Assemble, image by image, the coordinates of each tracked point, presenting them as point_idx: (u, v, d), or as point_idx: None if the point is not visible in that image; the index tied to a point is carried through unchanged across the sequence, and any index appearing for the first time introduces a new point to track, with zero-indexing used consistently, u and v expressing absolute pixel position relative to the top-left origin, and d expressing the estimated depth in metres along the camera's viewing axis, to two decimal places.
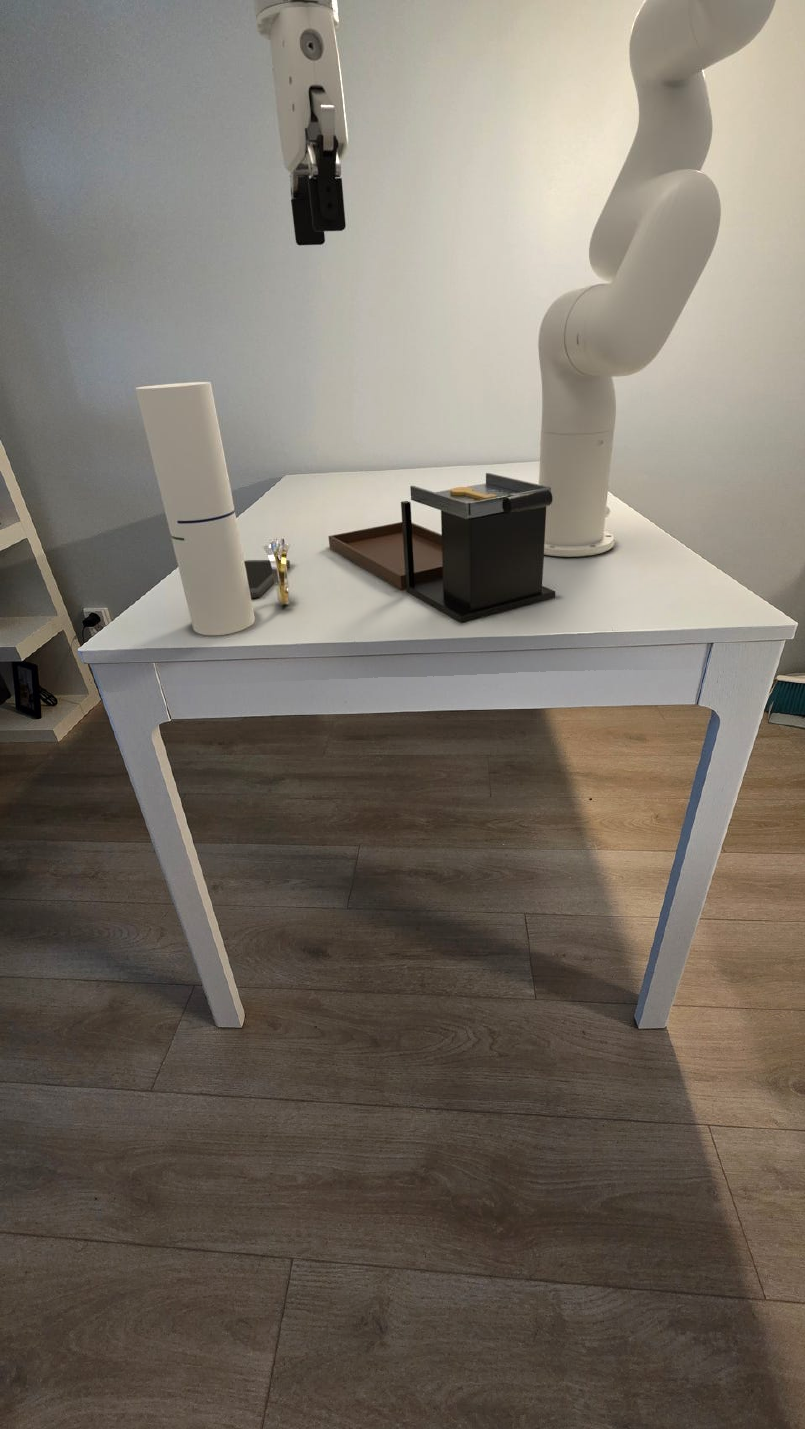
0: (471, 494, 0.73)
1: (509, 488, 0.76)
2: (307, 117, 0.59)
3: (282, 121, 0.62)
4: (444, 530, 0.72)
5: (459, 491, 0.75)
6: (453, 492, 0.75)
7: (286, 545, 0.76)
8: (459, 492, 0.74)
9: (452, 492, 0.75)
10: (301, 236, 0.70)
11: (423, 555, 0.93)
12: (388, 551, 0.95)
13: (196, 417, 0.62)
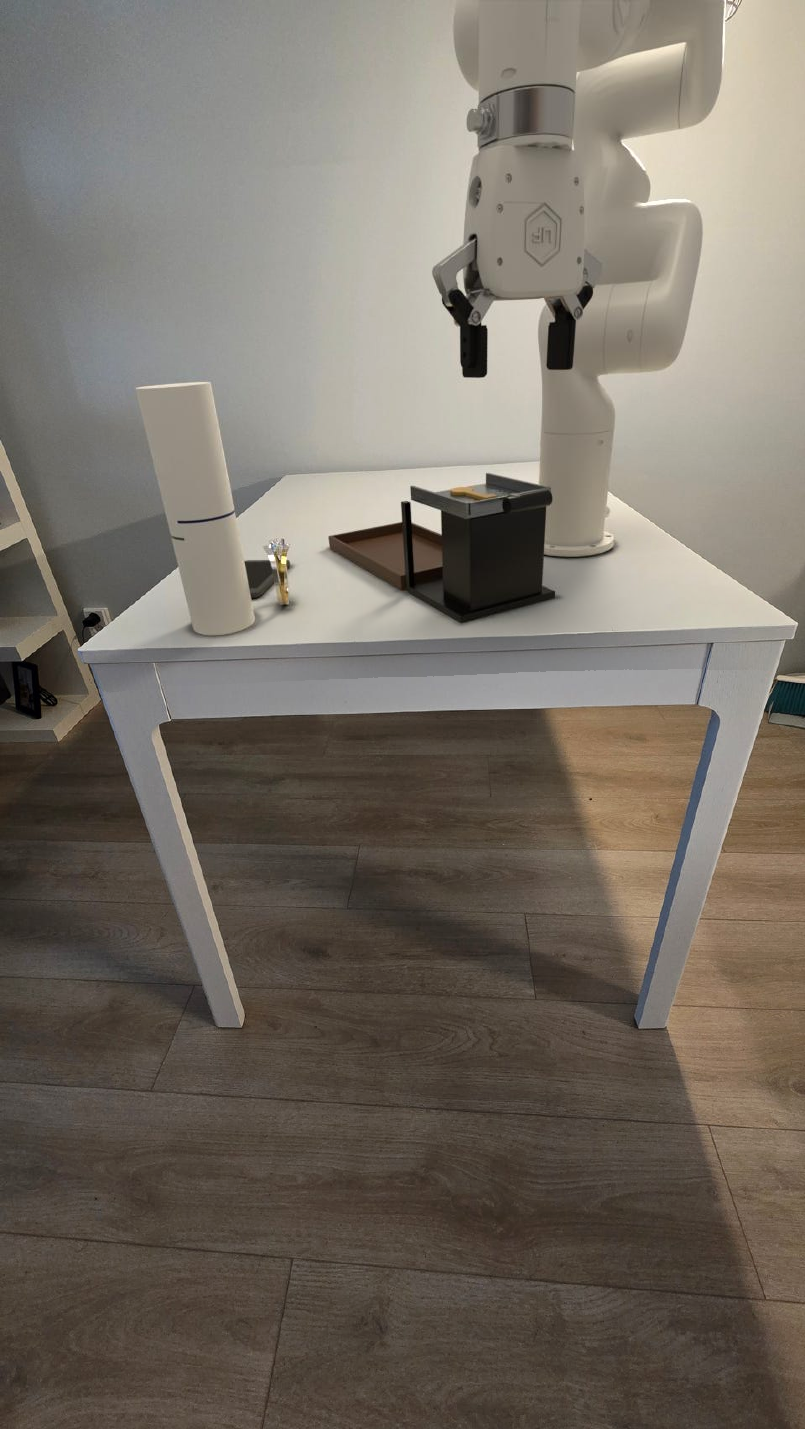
0: (471, 494, 0.73)
1: (509, 488, 0.76)
2: (465, 267, 0.55)
3: None
4: (444, 530, 0.72)
5: (459, 491, 0.75)
6: (453, 492, 0.75)
7: (286, 545, 0.76)
8: (459, 492, 0.74)
9: (452, 492, 0.75)
10: (549, 361, 0.62)
11: (423, 555, 0.93)
12: (388, 551, 0.95)
13: (196, 417, 0.62)
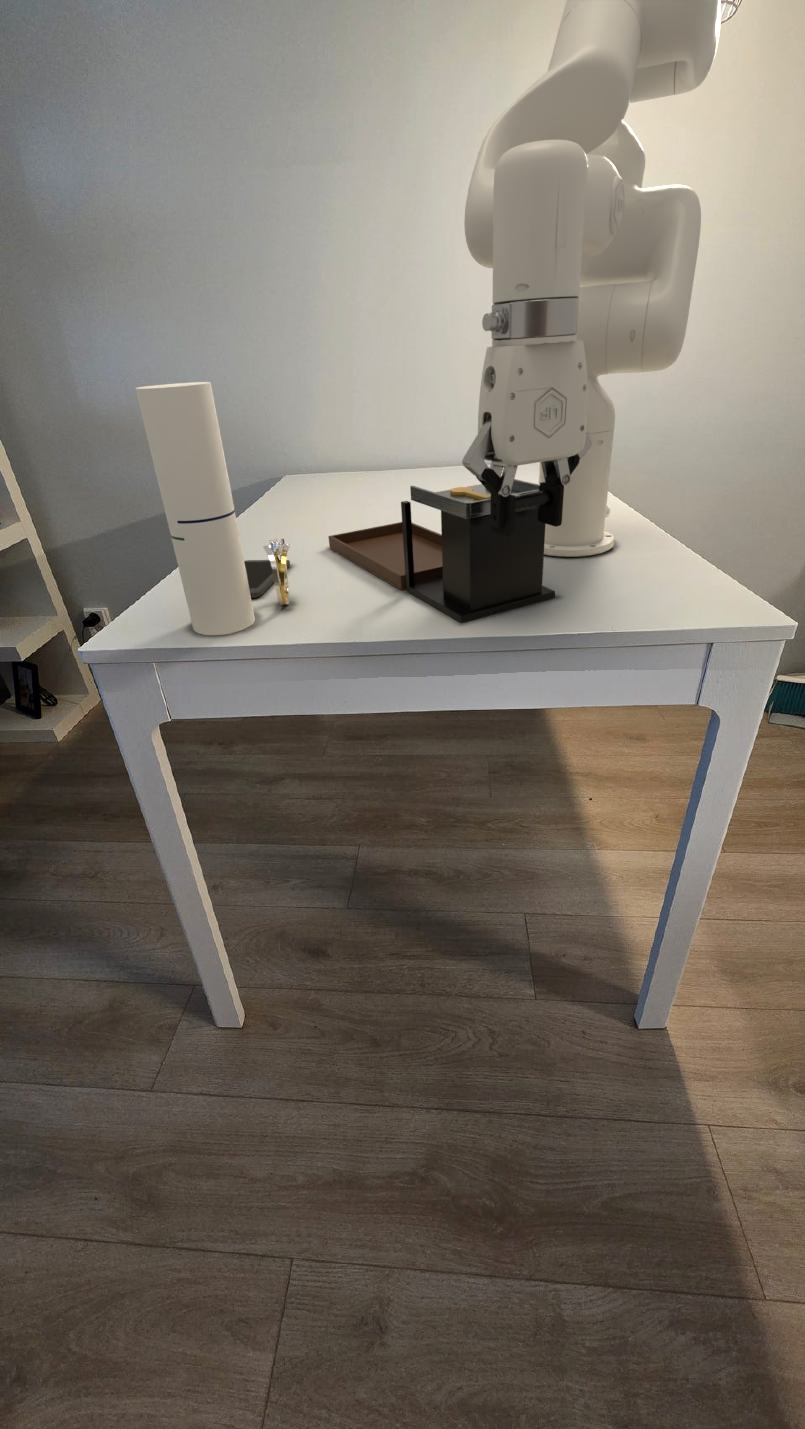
0: (471, 494, 0.73)
1: None
2: None
3: None
4: (444, 530, 0.72)
5: (459, 491, 0.75)
6: (453, 492, 0.75)
7: (286, 545, 0.76)
8: (459, 492, 0.74)
9: (452, 492, 0.75)
10: (540, 515, 0.68)
11: (423, 555, 0.93)
12: (388, 551, 0.95)
13: (196, 417, 0.62)
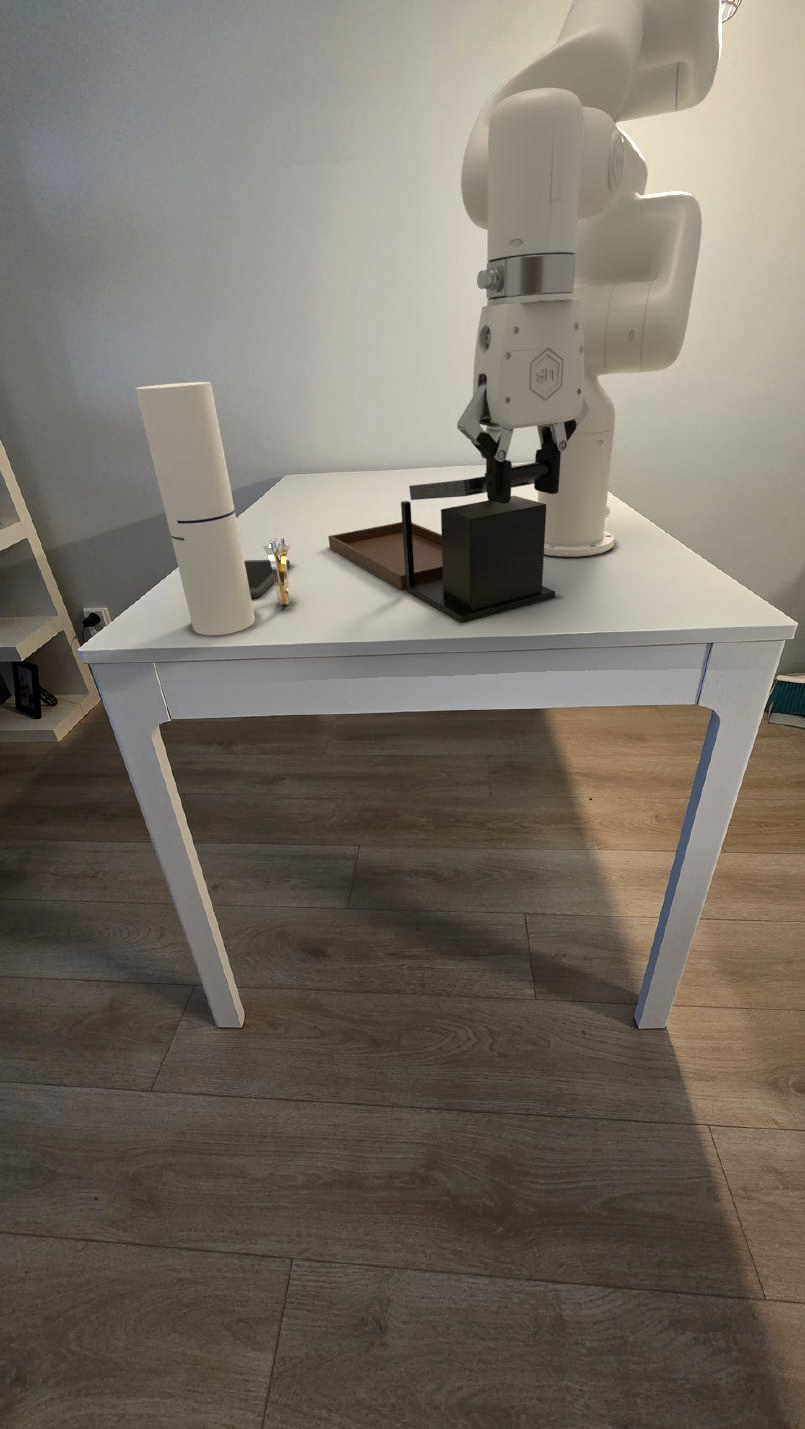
0: None
1: None
2: None
3: None
4: (444, 530, 0.72)
5: None
6: None
7: (286, 545, 0.76)
8: None
9: None
10: (537, 484, 0.67)
11: (423, 555, 0.93)
12: (388, 551, 0.95)
13: (196, 417, 0.62)
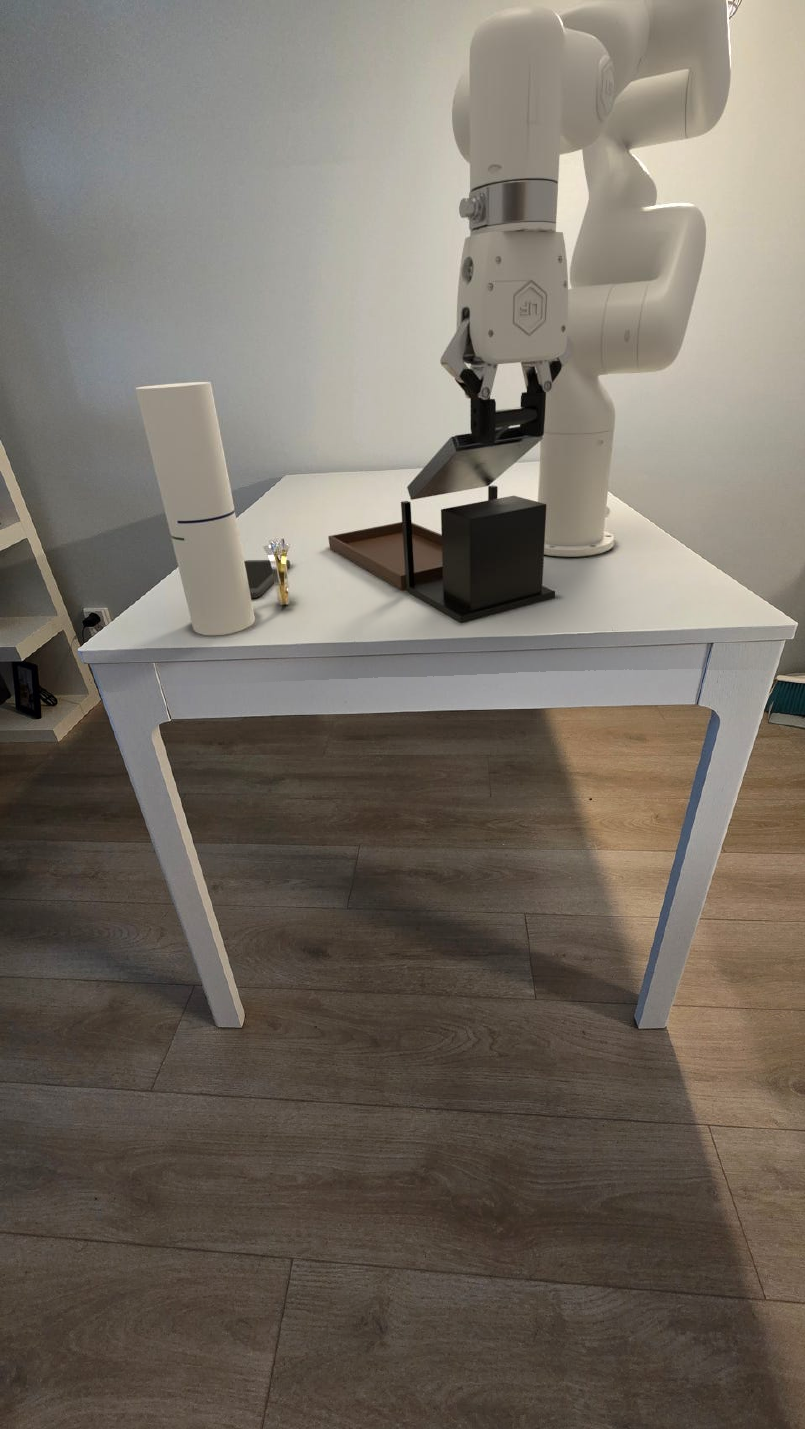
0: None
1: None
2: None
3: None
4: (444, 530, 0.72)
5: None
6: None
7: (286, 545, 0.76)
8: None
9: None
10: (522, 427, 0.67)
11: (423, 555, 0.93)
12: (388, 551, 0.95)
13: (196, 417, 0.62)
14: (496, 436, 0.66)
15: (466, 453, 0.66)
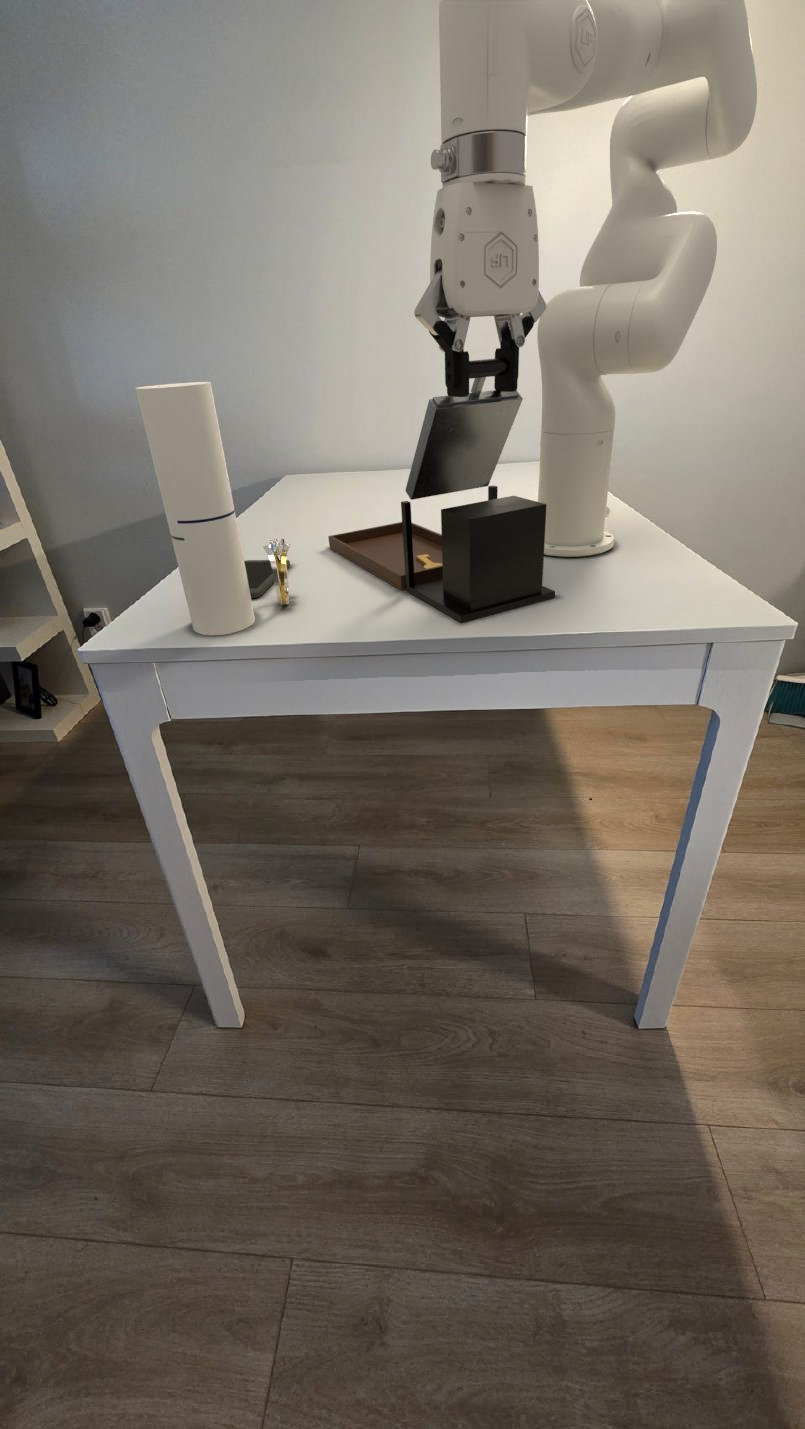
0: (423, 563, 0.89)
1: None
2: None
3: None
4: (444, 530, 0.72)
5: None
6: None
7: (286, 545, 0.76)
8: None
9: None
10: (497, 383, 0.68)
11: None
12: (388, 551, 0.95)
13: (196, 417, 0.62)
14: (474, 396, 0.68)
15: (448, 414, 0.67)
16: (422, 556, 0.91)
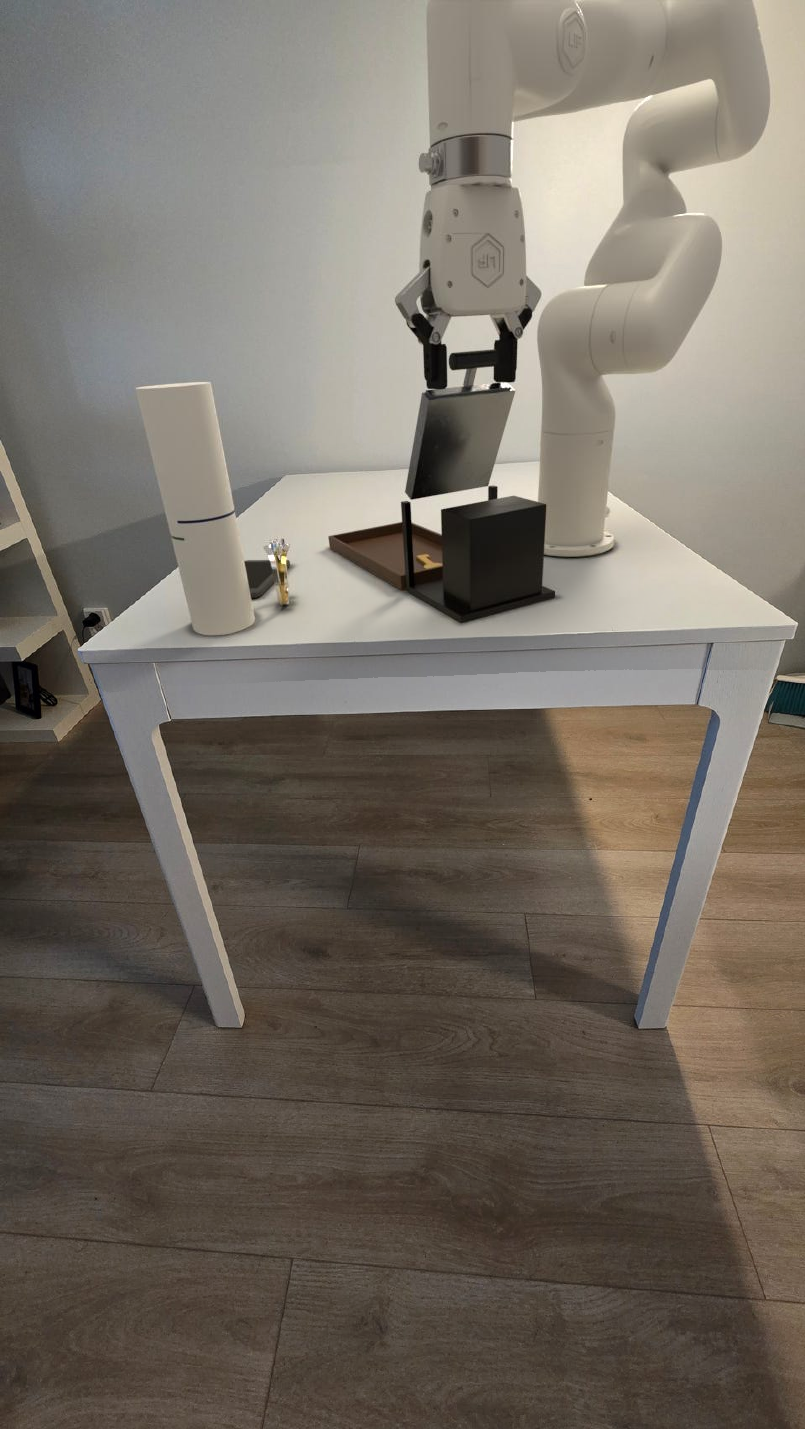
0: (423, 563, 0.89)
1: None
2: None
3: None
4: (444, 530, 0.72)
5: None
6: None
7: (286, 545, 0.76)
8: None
9: None
10: (496, 374, 0.70)
11: None
12: (388, 551, 0.95)
13: (196, 417, 0.62)
14: (467, 389, 0.68)
15: (441, 406, 0.68)
16: (422, 556, 0.91)
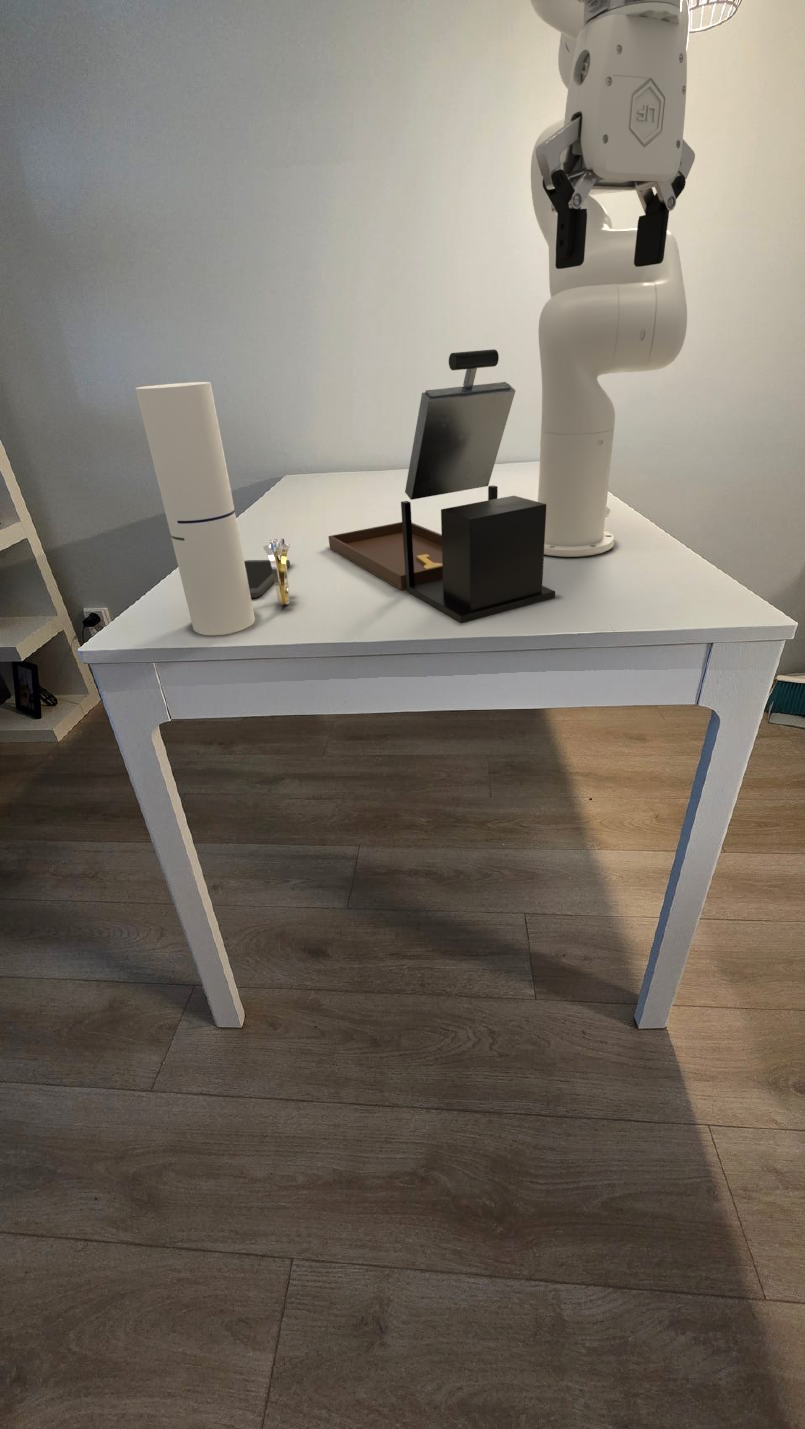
0: (423, 563, 0.89)
1: None
2: (565, 150, 0.55)
3: None
4: (444, 530, 0.72)
5: None
6: None
7: (286, 545, 0.76)
8: None
9: None
10: (637, 257, 0.62)
11: None
12: (388, 551, 0.95)
13: (196, 417, 0.62)
14: (467, 389, 0.68)
15: (441, 406, 0.68)
16: (422, 556, 0.91)
